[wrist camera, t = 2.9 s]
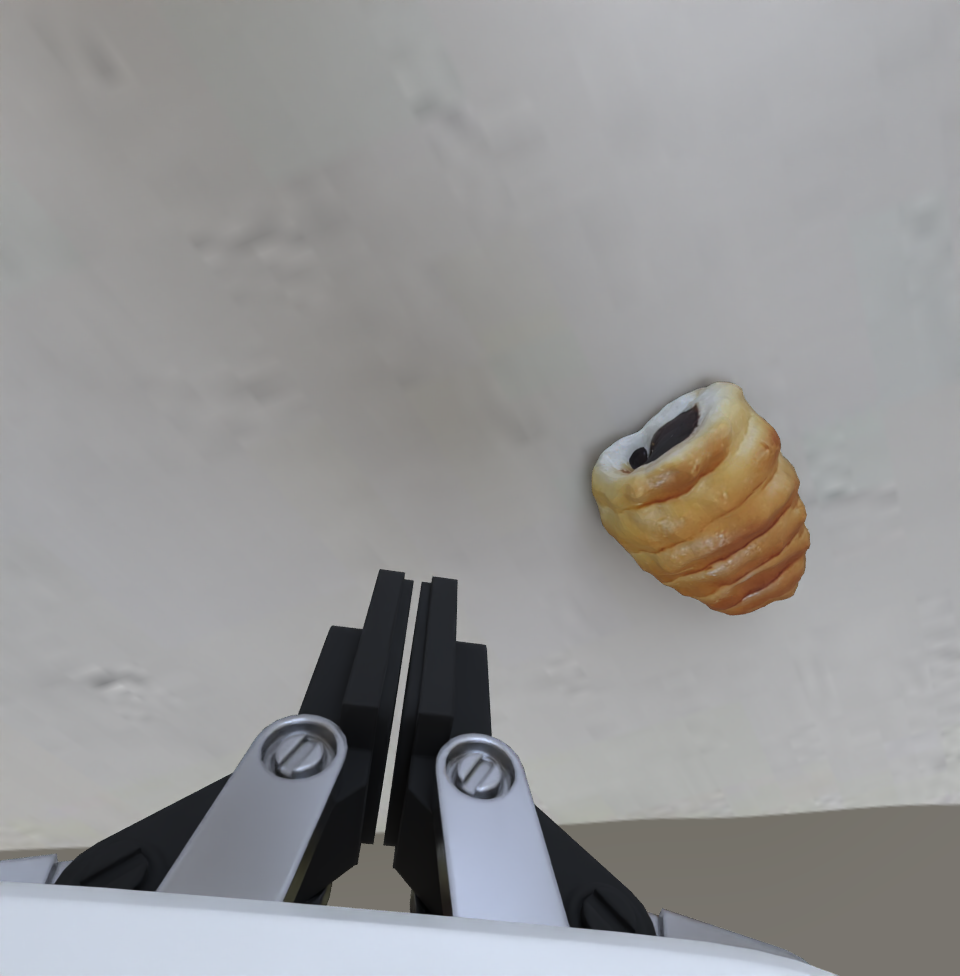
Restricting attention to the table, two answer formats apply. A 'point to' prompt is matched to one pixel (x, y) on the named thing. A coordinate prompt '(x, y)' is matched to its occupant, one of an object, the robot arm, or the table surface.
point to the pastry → (707, 502)
